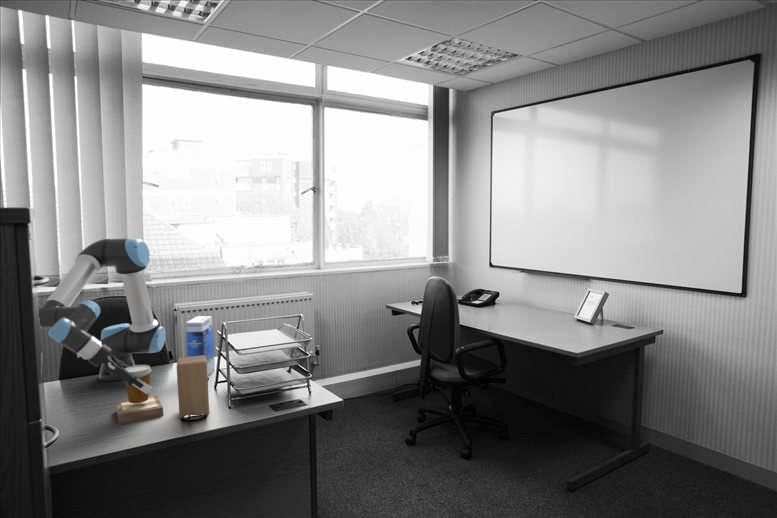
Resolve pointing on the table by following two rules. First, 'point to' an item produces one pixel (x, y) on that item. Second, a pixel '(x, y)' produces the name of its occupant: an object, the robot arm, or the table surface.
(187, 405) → the block
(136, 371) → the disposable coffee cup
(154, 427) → the table surface
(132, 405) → the walnut base
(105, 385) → the table surface
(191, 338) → the string lights box
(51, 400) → the table surface
